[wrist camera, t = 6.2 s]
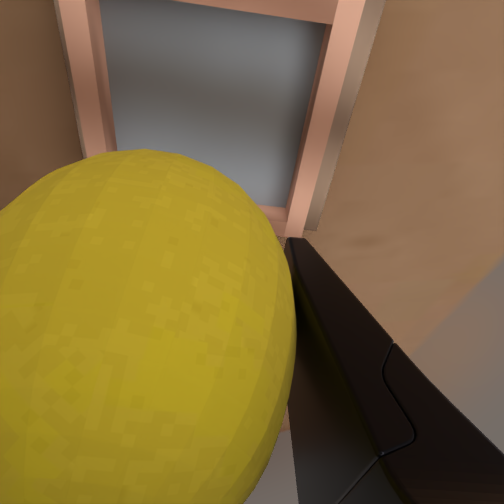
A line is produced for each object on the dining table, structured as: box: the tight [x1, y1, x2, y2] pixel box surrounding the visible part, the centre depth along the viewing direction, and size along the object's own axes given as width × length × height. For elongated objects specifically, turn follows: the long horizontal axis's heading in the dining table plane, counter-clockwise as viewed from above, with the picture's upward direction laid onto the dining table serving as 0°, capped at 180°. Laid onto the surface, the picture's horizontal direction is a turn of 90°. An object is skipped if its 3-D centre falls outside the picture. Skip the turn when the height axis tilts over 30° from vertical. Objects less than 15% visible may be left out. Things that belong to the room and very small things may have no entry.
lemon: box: [0, 149, 297, 504], centre depth 6 cm, size 6×6×8 cm
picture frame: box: [53, 0, 386, 238], centre depth 15 cm, size 12×12×5 cm
